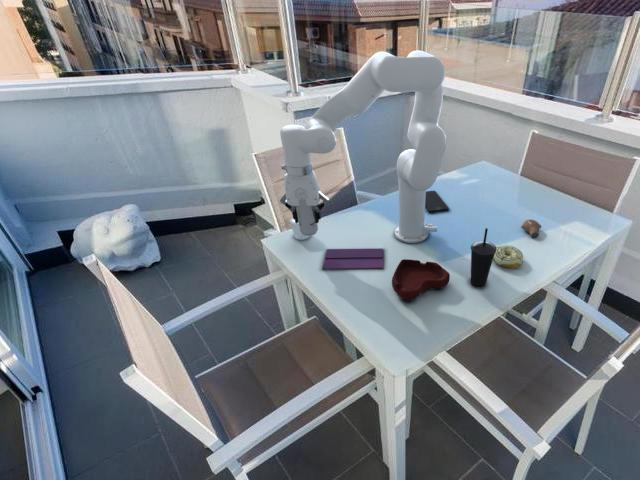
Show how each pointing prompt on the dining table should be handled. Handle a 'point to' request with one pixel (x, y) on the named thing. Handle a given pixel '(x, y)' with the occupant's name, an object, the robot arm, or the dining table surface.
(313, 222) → the energy drink can
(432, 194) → the cell phone
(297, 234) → the shot glass
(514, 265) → the decorated donut
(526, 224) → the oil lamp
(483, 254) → the drinking cup
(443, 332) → the dining table surface
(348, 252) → the napkin
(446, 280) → the ashtray
